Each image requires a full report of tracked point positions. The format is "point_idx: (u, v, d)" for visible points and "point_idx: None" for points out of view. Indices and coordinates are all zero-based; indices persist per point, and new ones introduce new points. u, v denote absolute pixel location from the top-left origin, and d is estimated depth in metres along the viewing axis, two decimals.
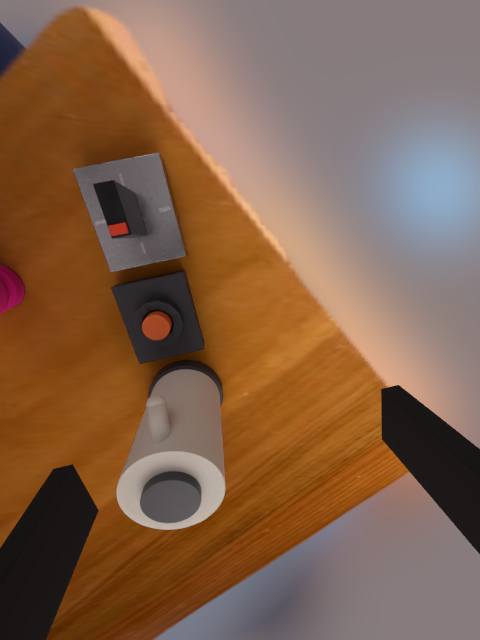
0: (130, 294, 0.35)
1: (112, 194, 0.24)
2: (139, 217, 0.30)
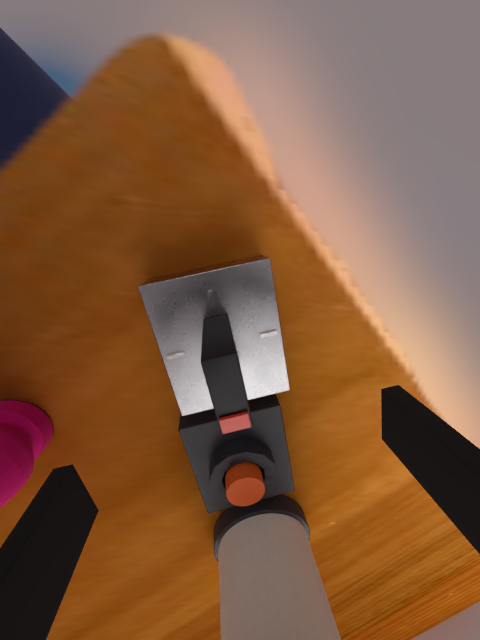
0: (204, 436, 0.24)
1: (232, 374, 0.14)
2: None
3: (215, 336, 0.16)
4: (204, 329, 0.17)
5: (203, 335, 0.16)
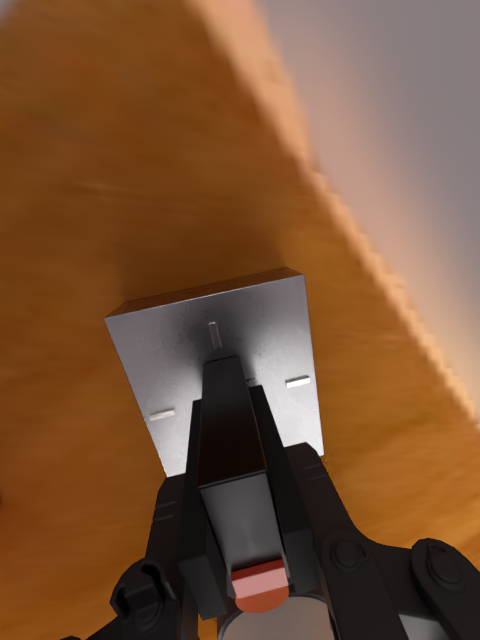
0: None
1: (257, 505, 0.07)
2: None
3: (224, 410, 0.09)
4: (205, 389, 0.11)
5: (203, 404, 0.10)
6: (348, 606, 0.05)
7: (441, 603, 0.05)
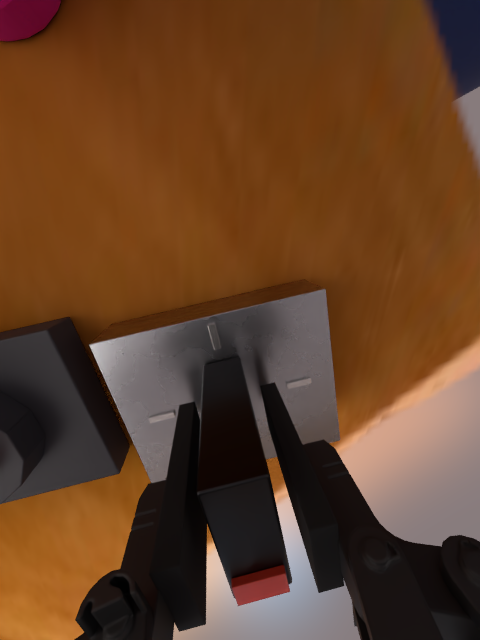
0: (38, 373, 0.13)
1: (258, 511, 0.07)
2: None
3: (224, 413, 0.09)
4: (205, 391, 0.11)
5: (203, 407, 0.10)
6: (379, 602, 0.05)
7: (474, 599, 0.05)
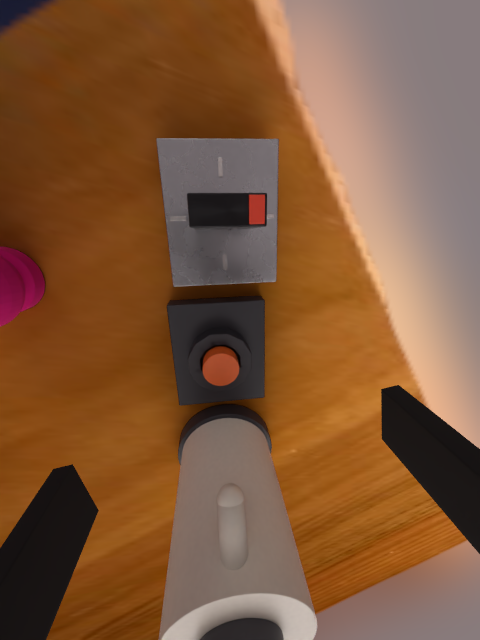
0: (189, 318, 0.26)
1: (207, 202, 0.16)
2: None
3: None
4: None
5: None
6: None
7: None
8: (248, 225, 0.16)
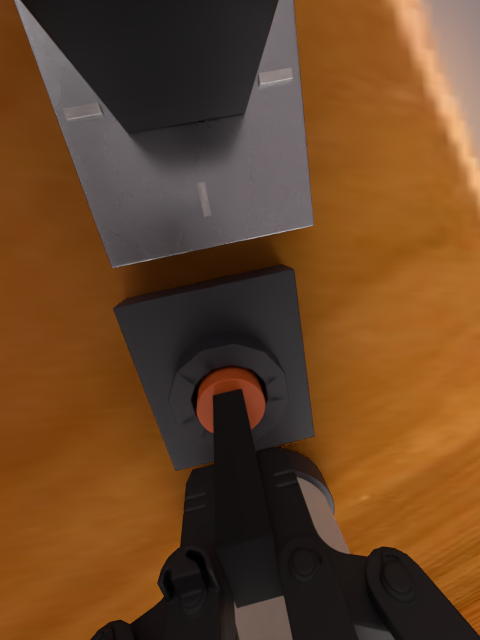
0: (160, 324, 0.14)
1: None
2: None
3: None
4: None
5: None
6: (304, 617, 0.05)
7: (394, 615, 0.05)
8: None
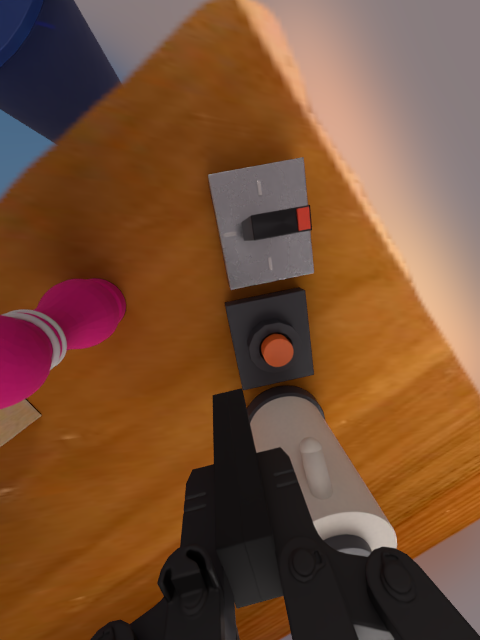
0: (244, 314, 0.31)
1: (265, 219, 0.21)
2: None
3: (247, 230, 0.23)
4: (246, 239, 0.25)
5: (248, 239, 0.24)
6: (304, 617, 0.05)
7: (394, 615, 0.05)
8: (298, 231, 0.21)
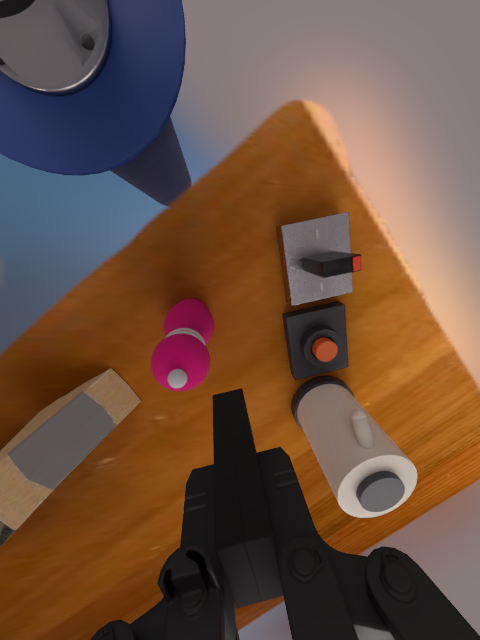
0: (299, 322, 0.42)
1: (332, 264, 0.31)
2: (326, 254, 0.36)
3: (314, 268, 0.34)
4: (309, 272, 0.36)
5: (312, 273, 0.35)
6: (304, 617, 0.05)
7: (394, 615, 0.05)
8: (352, 271, 0.32)
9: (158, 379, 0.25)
